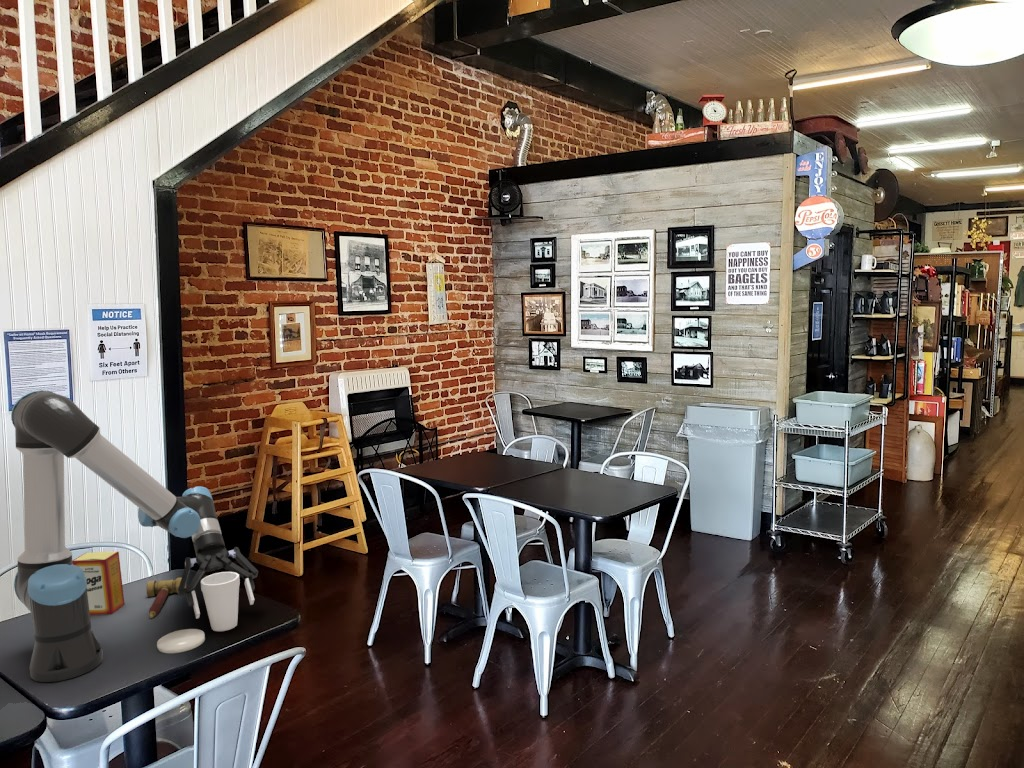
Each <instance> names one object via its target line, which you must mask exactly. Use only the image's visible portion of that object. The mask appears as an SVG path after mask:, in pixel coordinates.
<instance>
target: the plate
mask: <svg viewBox="0 0 1024 768" xmlns="http://www.w3.org/2000/svg"><path fill="white" fill-rule="evenodd" d="M205 636H206V635H205V632H204V631H203V630H201V629H198V628H188V629H187V628H186V629H179V630H175V631H173V632H169V633H167V634H166V635H163V636H161V638H159V639H158V640H157V642H156V647H157V651H159V652H160V653H162V654H179V653H184V652H188V651H191V650H193V649H196V648H198V647H199V646H201V645H203V643H204V642H205V640H206V637H205Z"/></svg>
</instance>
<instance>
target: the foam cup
mask: <svg viewBox="0 0 1024 768" xmlns="http://www.w3.org/2000/svg"><path fill="white" fill-rule="evenodd" d="M240 578H241V577H239V574H238V573H235V572H231V571H221V572H215V573H212V574H210V575H205V576H204V577H203V578H201V579H200V589H201V592H202V595H203V599H204V603H205V606H206V607H205V608H206V611H207V616H208V619H209V623H210V627H211V630H213V631H214V632H225V631H229V630H232V629H235V627H237V626H238V618H239V617H238V615H239V596H240V595H239V593H240V583H241V582H240V581H241V579H240Z"/></svg>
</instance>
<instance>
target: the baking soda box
mask: <svg viewBox="0 0 1024 768" xmlns="http://www.w3.org/2000/svg"><path fill="white" fill-rule="evenodd" d="M72 565H75V566H78V567H80V568H81V569H82V570H83V571H84V574H85V578H86V580H87V595H88V604H89V613H90V616H93V615H94V616H95V615H96V616H98V615H113V614H114V613H116V612H117V611H118V610H119V609H120V608H123V606H124V605H126V604H125V598H124V589H123V579H122V571H121V562H120V551H100V552H99V551H98V552H96V551H95V552H94V551H93V552H85V553H82V554H81V555H79V556H78V557H76V558H74V559H72Z"/></svg>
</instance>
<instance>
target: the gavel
mask: <svg viewBox="0 0 1024 768" xmlns="http://www.w3.org/2000/svg"><path fill="white" fill-rule="evenodd" d="M181 579H182V577H177V578H176V579H167V580H158V581H156V580H148V582H146V588H145V589H146V590H145V591H146V595H147V597H148V598H151V597H155V599H154V600H153V602H152V604H151V605H150V608H149V610H148V614H149V618H150V619H153V618H154V617H155V616H157V615H158V614H159V613H160V611H161V609H162V607H163V605H164V603H165V601H166V599H167V598H168V595H169V594H170V595H171V594H177V595H178V588H179V585H180V582H181ZM185 588H187V584H186V585H185Z"/></svg>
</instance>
